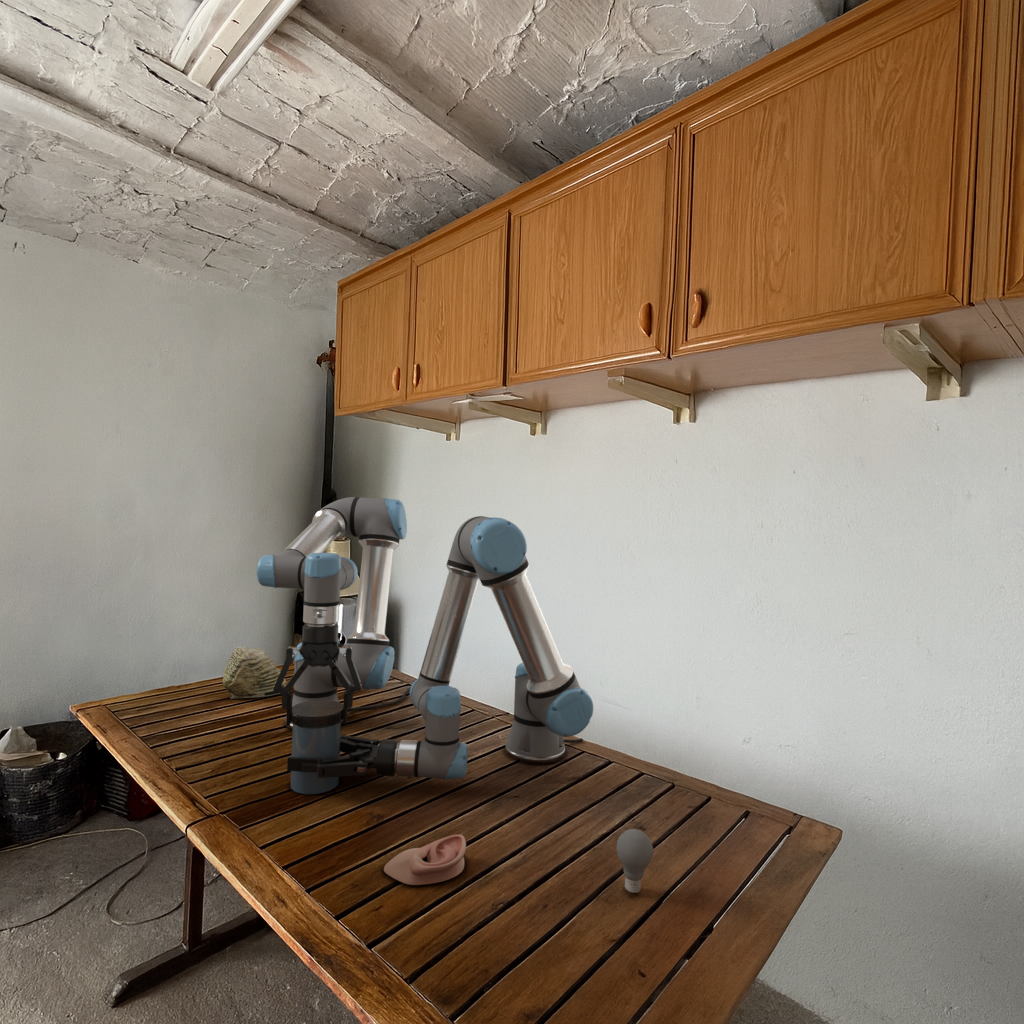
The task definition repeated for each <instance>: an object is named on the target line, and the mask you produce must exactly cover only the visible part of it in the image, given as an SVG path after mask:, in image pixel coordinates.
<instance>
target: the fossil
mask: <svg viewBox="0 0 1024 1024" xmlns="http://www.w3.org/2000/svg"><path fill="white" fill-rule="evenodd" d="M280 672H281V669H279V668H278V667H277V665H276V663H275V662H274V660H273V659H272V658H271V657H270V656H269V655H268V654H267V653H266V652H265V650H264V649H263V648H260V647H258V648H251V647H247V646H246V647H245V646H238V647H237V648H236V649H235V650H233V651H232V653H231V656H230V657H229V659H228V660H227V663H226V666H225V668H224V671H223V675H222V676H223V677H222V685H223V687H224V688H225V690H226V691H228V693H229V698H230V699H250V698H264V697H271V696H275V695H281V693H279V692H274V691H273V688H274V686H275V684H276V681H277V679H278V677H279V674H280ZM286 684H287V680H286V677H285V678H284V681H283V683H282V686H286Z"/></svg>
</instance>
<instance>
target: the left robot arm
mask: <svg viewBox="0 0 1024 1024" xmlns="http://www.w3.org/2000/svg"><path fill="white" fill-rule="evenodd" d="M407 522H408V521H407V514H406V509H405V505H404V504H403V502H402V501H401V500H400V499H397V498H396V499H395V498H388V497H385V498H383V497H381V498H380V497H357V496H350V497H344V498H340V499H337V500H335V501H332V502H330V503H328V504H327V505H325V506H323V507H322V508H320V510H318V511H317V512H316V513H315V514H314V515H313V517H312V520H311V523H310V524H308V526H306V528H305V529H304V530H303V531H301V533H300V534H298V535H297V537H296V538H295V539H293V540H292V542H290V543H289V544H288V545H287V546H286V547H285V548H284V549H283V550H282V551H281V552H280V553H279V554H277V555H276V554H265V555H263V556H261V557H260V559H259V560H258V563H257V565H256V579H257V582H258V583H259V585H261V587H267V588H274V589H300V590H301V589H302V590H303V591H304V592H303V615H302V622H303V623H304V625H302V638H301V639H302V640H301V642H300V643H298V644H297V645H296V646H293V645H289V646H288V647H287V649H286V650H285V651H286V653H285V660H284V663H283V665H282V667H281V669H280V674H279V677H278V679H277V681H276V684H275V686H274V688H273V691H274V692H279V693H280V695H281V709H282V710H286V715H285V726H286V728H287V729H289V730H292V726H293V723H292V722H291V720H290V712H291V708H292V707H293V706H294V705H296V704H299V703H302V702H306V701H313V700H330V701H336V702H339V703H341V702H340V699H339V695H338V688H344V693H343V703H342V704H343V719H342V720H341V724H342V725H346V724H347V722H348V711H361V710H362V711H363V710H370V709H375V708H376V709H377V708H382V707H386V706H390V705H393V704H397V703H399V702H401V701H402V700H403V699H405V698H406V696H407V694H409V693H410V688H411V686H410V687H408V688H407V689H406V691H405V692H404V693H403V694H402V696H401V697H400V698H398V699H396V700H395V699H394V700H393V701H388V702H385V703H379V704H374V705H367V706H358V707H353V704H354V693H356V692H360V691H361V690H362V689H363V690H366V691H368V690H381V689H383V688H384V687H385V686H386V685H387V684H388V682H389V680H390V677H391V675H392V671H393V668H394V663H395V648H394V647H393V646H390V639H389V638H388V637H387V635H386V624H387V614H388V605H389V595H390V585H391V577H392V576H391V575H392V568H393V567H392V566H393V558H394V557H393V556H394V551H395V550H397V548H398V547H399V546H400V540H404V539H406V537H407V533H408V532H407V530H408V525H407V524H408V523H407ZM342 537H355V538H358V544H359V545H360V546H361V547H362V554H361V564H360V574H359V572H358V571H359V570H358V567H357V565H356V563H355V562H354V561H353V560H352V559H351V558H349V557H345V556H341V555H340V554H338V553H334V552H325V551H326V550H327V548H328V547H329V546H330V545H331V544H332V543H333V542H334V541H337V540H340V539H341V538H342ZM358 575H359V582H358V590H357V599H356V606H355V607H356V609H355V616H354V625H353V631H352V633H351V634H350V635H348V636H347V638H346V643H345V644H344V643H343V644H342V643H341V641H340V639H339V625H338V623H339V620H340V596H341V595H340V594H341V591H344V590H346V589H349V588H350V587H351V586H352V585H353V584H354V583H355V582H356V580H357V578H358ZM293 661H294V670H293V671H294V672H293V675H292V676H291V678H290V679H289V680H288V681H287V682H286V686H282V683H283V681H284V678H285V679H286V676H287V673H288V671H289V668H290V667H291V664H292V662H293ZM292 688H293V691H291V689H292Z"/></svg>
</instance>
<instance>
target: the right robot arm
mask: <svg viewBox="0 0 1024 1024" xmlns="http://www.w3.org/2000/svg"><path fill="white" fill-rule="evenodd" d="M527 550H528V545H527V540H526V537H525V534H524V533H523V531H522V530H521V529H520V527H519V526H517V525H516V524H515V523H513V522H512V521H510V520H507V519H505V518H502V517H496V516H495V517H490V516H489V517H488V516H484V515H479V516H473V517H471V518H468V519H466V521H464V522H463V523H462V524H461V525H460V526H459V528H458V529H457V531H456V533H455V536H454V537H453V541H452V544H451V547H450V551H449V554H448V559H447V561H446V565H445V566H446V568H447V570H448V574H447V577H446V581H445V584H444V587H443V591H442V594H441V598H440V602H439V605H438V609H437V612H436V616H435V618H434V623H433V626H432V629H431V632H430V637H429V640H428V644H427V647H426V650H425V654H424V657H423V661H422V664H421V668H420V671H419V674H418V678H417V679H415V680H414V681H413V683H411V686H410V687H411V688H410V687H409V688H410V691H409V697H410V700H411V703H412V705H413V706H414V708H415V709H416V710H417V711H418V713H419V714H420V715H421V717H422V719H423V720H424V723H425V724H424V728H425V729H424V740H423V741H422V740H415V739H414V740H413V739H400V741H398V739H385V738H383V739H382V740H381V741H380V739H370V738H364V737H360V736H359V737H358V736H352V735H348V734H347V735H346V734H341V740H340V753H344V754H347V755H345V756H340V757H338V758H332V759H326V760H321V758H320V757H319V758H304V757H291V756H288V757H287V762H286V764H287V765H286V771H287V772H291V771H300V772H317V774H318V778H328V777H339V778H340V777H350V776H351V777H352V776H360V777H364V776H365V777H366V776H367V770H370V769H375V770H376V774H377V776H380V777H394V776H395V775H396V776H397V777H401V778H402V777H405V778H407V779H409V780H411V779H412V778H426V779H441V780H445V781H446V780H460V779H463V778H464V777H465V776H466V775H467V771H468V759H469V758H468V756H469V754H468V753H469V751H468V750H469V746H468V744H467V743H466V742H462V741H460V725H461V724H460V722H461V711H462V710H461V709H462V702H461V691H460V690H459V689H458V688H456V687H453V686H451V685H450V683H451V678H452V675H453V672H454V669H455V664H456V661H457V659H458V654H459V650H460V648H461V643H462V640H463V637H464V633H465V630H466V626H467V623H468V619H469V616H470V612H471V610H472V606H473V602H474V598H475V596H476V595H475V594H476V591H477V588H478V584H479V581H480V583H481V585H482V586H483V587H485V588H488V589H490V590H491V592H492V595H493V597H494V599H495V601H496V604H497V607H498V608H499V610H500V613H501V615H502V617H503V620H504V622H505V624H506V627H507V629H508V631H509V634H510V636H511V638H512V641H513V643H514V645H515V647H516V651H517V653H518V654H519V657H520V659H521V663H519V664H518V665H517V666H516V668H515V675H514V700H513V701H514V704H513V706H514V707H513V722H512V724H511V727H510V730H509V732H508V735H507V738H506V741H505V749H504V751H505V754H506V755H507V756H508V757H510V758H511V759H513V760H516V761H518V762H521V763H527V764H533V765H544V764H545V765H547V764H551V763H556V762H558V761H561V759H563V758H564V757H565V755H566V754H565V753H566V745H565V743H566V744H568V743H569V744H570V743H571V744H578V743H581V742H583V741H584V739H583V738H578V739H577V738H576V739H565V738H569V737H574V736H576V735H578V734H580V733H582V732H584V730H585V729H586V728H587V727H588V725H589V724H590V723H591V719H592V717H593V714H594V702H593V699H592V697H591V695H590V694H589V693H588V692H587V691H586V689H583V688H582V687H581V685H580V683H579V681H578V679H577V677H576V673H575V672H574V669H573V667H572V666H570V665H569V664H566V663H564V662H563V660H562V657H561V655H560V653H559V652H560V651H559V650H558V648H557V645H556V643H555V640H554V638H553V635H552V633H551V631H550V628H549V626H548V624H547V621H546V619H545V617H544V613H543V612H542V609H541V606H540V604H539V602H538V600H537V597H536V594H535V593H534V590H533V588H532V585H531V582H530V581H529V578H528V576H527V572H528V570H529V567H530V563H529V561H528V559H527V556H526V553H527V552H528V551H527Z"/></svg>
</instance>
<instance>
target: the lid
mask: <svg viewBox="0 0 1024 1024" xmlns="http://www.w3.org/2000/svg"><path fill="white" fill-rule="evenodd" d="M339 702H340V701H339ZM339 702H336V701H330V700H313V701H306V702H302V703H299V704H296V705H294V706H293V707H292V708H291V712H290V720H291V722H292V723H293V724H295V725H298V726H303V727H322V726H328V725H332V724H335V723H338V722H340V721H341V720H342V719H343V703H341V702H340V703H339Z"/></svg>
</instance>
